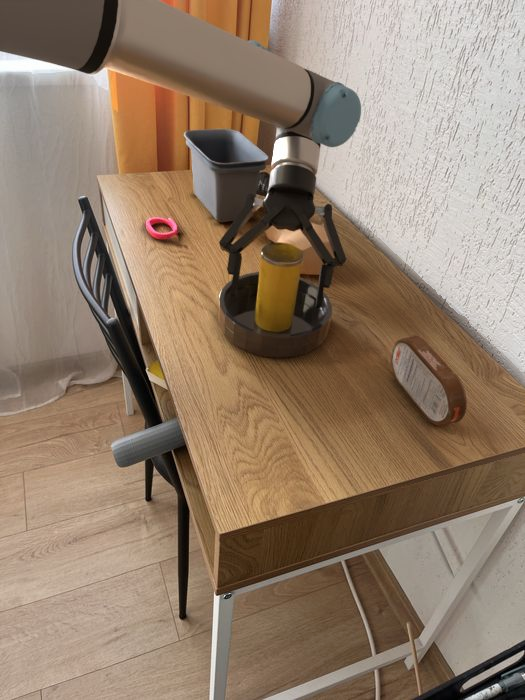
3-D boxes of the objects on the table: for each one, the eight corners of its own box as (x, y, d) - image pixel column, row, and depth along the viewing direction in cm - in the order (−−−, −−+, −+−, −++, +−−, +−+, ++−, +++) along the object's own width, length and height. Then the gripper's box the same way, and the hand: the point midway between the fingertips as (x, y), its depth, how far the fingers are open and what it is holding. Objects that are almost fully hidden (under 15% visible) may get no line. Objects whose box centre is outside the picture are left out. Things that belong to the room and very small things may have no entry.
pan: (208, 350, 82) (209, 327, 79) (227, 286, 96) (228, 265, 94) (326, 367, 82) (331, 344, 79) (327, 300, 96) (332, 279, 93)
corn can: (252, 329, 86) (259, 260, 78) (256, 307, 91) (263, 239, 83) (291, 334, 86) (302, 266, 78) (293, 312, 91) (304, 245, 83)
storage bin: (179, 190, 127) (179, 129, 118) (238, 184, 133) (242, 126, 124) (210, 230, 112) (213, 164, 103) (275, 222, 118) (283, 159, 109)
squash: (299, 290, 98) (295, 246, 93) (252, 251, 113) (246, 212, 107) (347, 271, 101) (346, 228, 96) (295, 236, 116) (291, 197, 111)
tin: (456, 434, 73) (478, 391, 68) (438, 439, 72) (458, 396, 67) (399, 365, 84) (413, 323, 78) (382, 368, 83) (396, 326, 77)
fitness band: (182, 237, 109) (182, 230, 108) (155, 241, 107) (155, 235, 106) (168, 220, 114) (168, 214, 113) (142, 224, 112) (142, 217, 111)
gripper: (365, 192, 89) (350, 315, 87) (219, 173, 89) (201, 294, 87) (374, 173, 81) (357, 307, 79) (215, 152, 82) (194, 284, 80)
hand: (275, 301), depth 83 cm, fingers open, 13 cm apart
